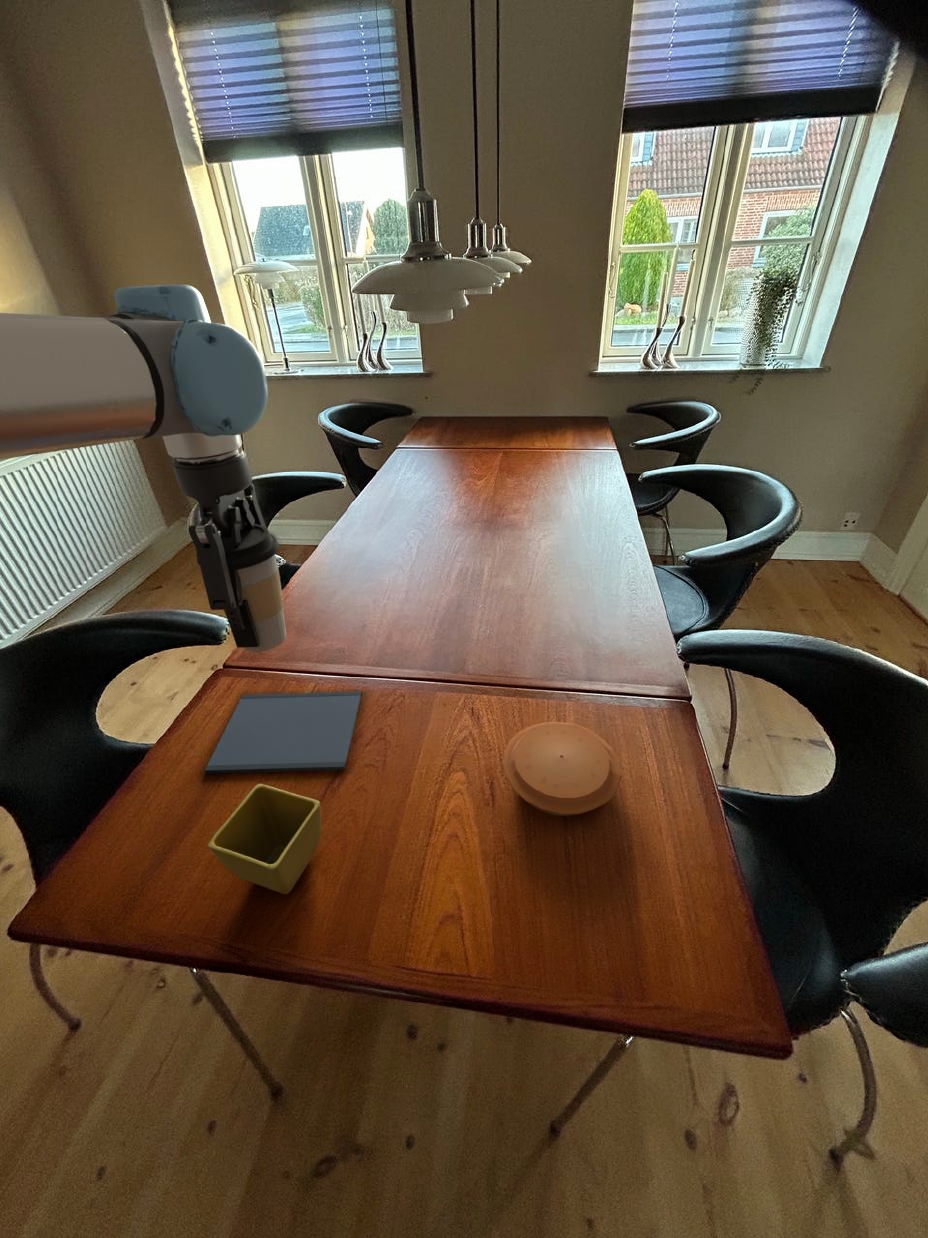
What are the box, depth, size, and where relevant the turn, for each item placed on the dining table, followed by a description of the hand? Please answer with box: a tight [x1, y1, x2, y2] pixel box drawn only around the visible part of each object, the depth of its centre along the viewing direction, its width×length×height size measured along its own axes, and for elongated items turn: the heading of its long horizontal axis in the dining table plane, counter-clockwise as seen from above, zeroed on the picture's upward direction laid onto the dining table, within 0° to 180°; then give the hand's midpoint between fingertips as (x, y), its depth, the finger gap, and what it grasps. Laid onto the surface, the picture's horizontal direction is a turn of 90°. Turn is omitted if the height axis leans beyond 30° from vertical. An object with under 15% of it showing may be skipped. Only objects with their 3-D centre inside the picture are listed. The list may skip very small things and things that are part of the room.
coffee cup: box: [196, 524, 287, 653], centre depth 67 cm, size 9×9×15 cm
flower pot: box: [207, 783, 323, 895], centre depth 61 cm, size 9×9×9 cm
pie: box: [501, 721, 623, 817], centre depth 71 cm, size 16×16×5 cm
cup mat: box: [204, 690, 363, 774], centre depth 82 cm, size 20×16×1 cm
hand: (260, 625), depth 70 cm, fingers closed on coffee cup, 8 cm apart
